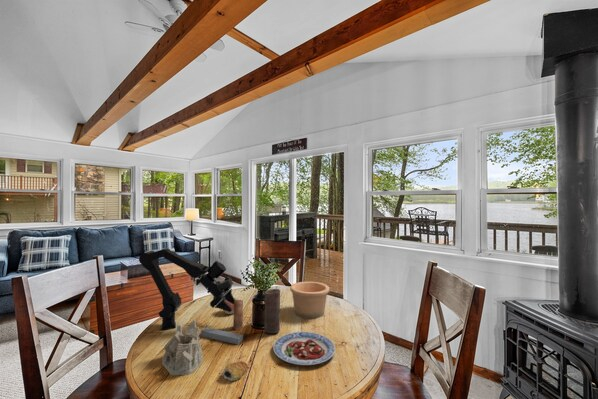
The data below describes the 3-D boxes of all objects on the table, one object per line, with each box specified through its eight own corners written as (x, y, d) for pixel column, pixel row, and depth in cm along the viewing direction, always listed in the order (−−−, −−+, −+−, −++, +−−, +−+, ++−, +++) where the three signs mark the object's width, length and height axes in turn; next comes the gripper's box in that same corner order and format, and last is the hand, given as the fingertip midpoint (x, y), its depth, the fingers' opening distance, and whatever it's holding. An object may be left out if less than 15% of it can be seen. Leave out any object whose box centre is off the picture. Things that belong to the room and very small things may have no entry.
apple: (241, 312, 154) (241, 298, 154) (228, 317, 147) (228, 302, 147) (232, 308, 160) (232, 294, 160) (218, 313, 153) (219, 298, 153)
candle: (277, 336, 128) (277, 293, 128) (262, 334, 129) (262, 291, 129) (281, 329, 135) (282, 288, 135) (267, 327, 137) (267, 287, 137)
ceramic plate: (325, 334, 131) (325, 328, 131) (343, 367, 105) (344, 359, 105) (271, 338, 126) (271, 331, 126) (276, 373, 101) (276, 365, 101)
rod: (232, 326, 137) (232, 300, 137) (241, 325, 139) (241, 299, 139) (234, 330, 133) (234, 303, 133) (243, 329, 135) (243, 302, 135)
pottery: (295, 322, 143) (295, 294, 143) (286, 306, 164) (287, 282, 164) (334, 319, 148) (334, 292, 148) (321, 304, 169) (321, 280, 169)
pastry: (239, 364, 106) (239, 354, 106) (252, 370, 102) (252, 360, 102) (220, 377, 98) (220, 366, 98) (234, 384, 94) (234, 373, 94)
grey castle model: (171, 349, 115) (172, 314, 114) (209, 354, 113) (211, 318, 112) (147, 375, 99) (148, 335, 99) (191, 381, 98) (192, 340, 97)
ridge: (200, 336, 127) (200, 330, 127) (206, 332, 130) (206, 327, 130) (238, 344, 120) (238, 338, 120) (242, 340, 123) (242, 335, 123)
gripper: (217, 278, 127) (241, 303, 127) (227, 268, 145) (248, 289, 145) (199, 295, 127) (223, 320, 127) (212, 283, 145) (233, 304, 145)
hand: (233, 307), depth 136 cm, fingers open, 9 cm apart
